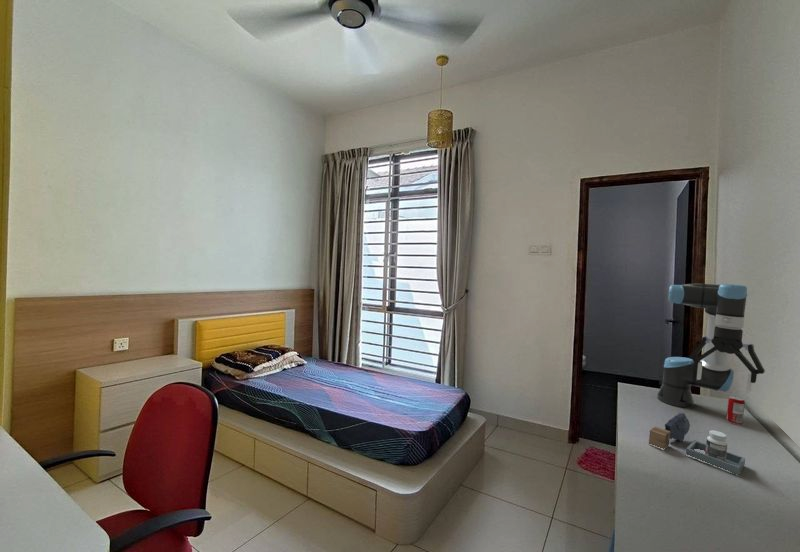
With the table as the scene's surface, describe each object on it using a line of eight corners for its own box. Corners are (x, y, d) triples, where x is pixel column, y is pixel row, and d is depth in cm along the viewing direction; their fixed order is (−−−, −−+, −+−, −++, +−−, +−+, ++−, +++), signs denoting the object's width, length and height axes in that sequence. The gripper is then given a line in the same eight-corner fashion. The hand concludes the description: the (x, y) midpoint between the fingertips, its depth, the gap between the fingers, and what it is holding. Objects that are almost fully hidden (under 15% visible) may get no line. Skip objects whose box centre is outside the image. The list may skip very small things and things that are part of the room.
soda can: (731, 419, 169) (733, 394, 168) (745, 424, 164) (748, 399, 163) (723, 420, 167) (726, 395, 166) (737, 425, 162) (740, 400, 161)
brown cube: (654, 440, 145) (655, 426, 145) (668, 446, 141) (670, 431, 141) (648, 444, 142) (650, 430, 141) (663, 450, 138) (665, 435, 137)
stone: (679, 447, 140) (682, 423, 140) (661, 441, 145) (663, 417, 144) (689, 437, 149) (691, 414, 148) (671, 431, 154) (673, 408, 153)
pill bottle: (705, 453, 136) (708, 427, 135) (726, 459, 132) (728, 433, 131) (704, 458, 132) (706, 432, 131) (724, 465, 128) (727, 439, 127)
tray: (693, 447, 141) (694, 440, 141) (744, 466, 129) (745, 458, 129) (685, 456, 134) (686, 448, 134) (738, 476, 123) (739, 467, 123)
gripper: (682, 321, 136) (677, 376, 138) (777, 335, 116) (769, 399, 118) (688, 320, 141) (683, 373, 142) (780, 333, 121) (773, 394, 122)
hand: (722, 385), depth 130 cm, fingers open, 13 cm apart
